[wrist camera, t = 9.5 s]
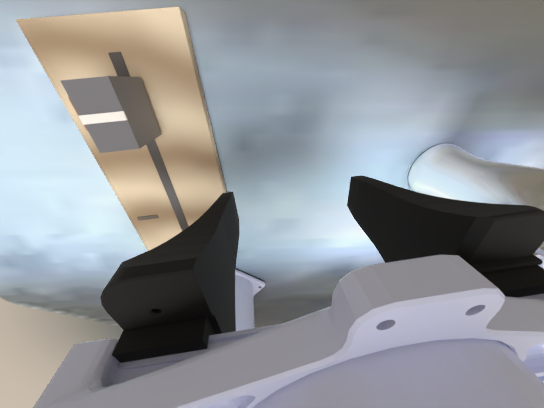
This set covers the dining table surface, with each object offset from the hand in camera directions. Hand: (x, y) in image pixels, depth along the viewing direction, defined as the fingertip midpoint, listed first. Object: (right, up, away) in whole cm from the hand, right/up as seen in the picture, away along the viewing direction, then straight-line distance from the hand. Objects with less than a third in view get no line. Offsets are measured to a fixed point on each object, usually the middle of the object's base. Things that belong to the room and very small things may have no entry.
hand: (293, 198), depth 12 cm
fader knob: (-12, +7, +3) cm, 14 cm away
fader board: (-12, +4, +7) cm, 14 cm away
